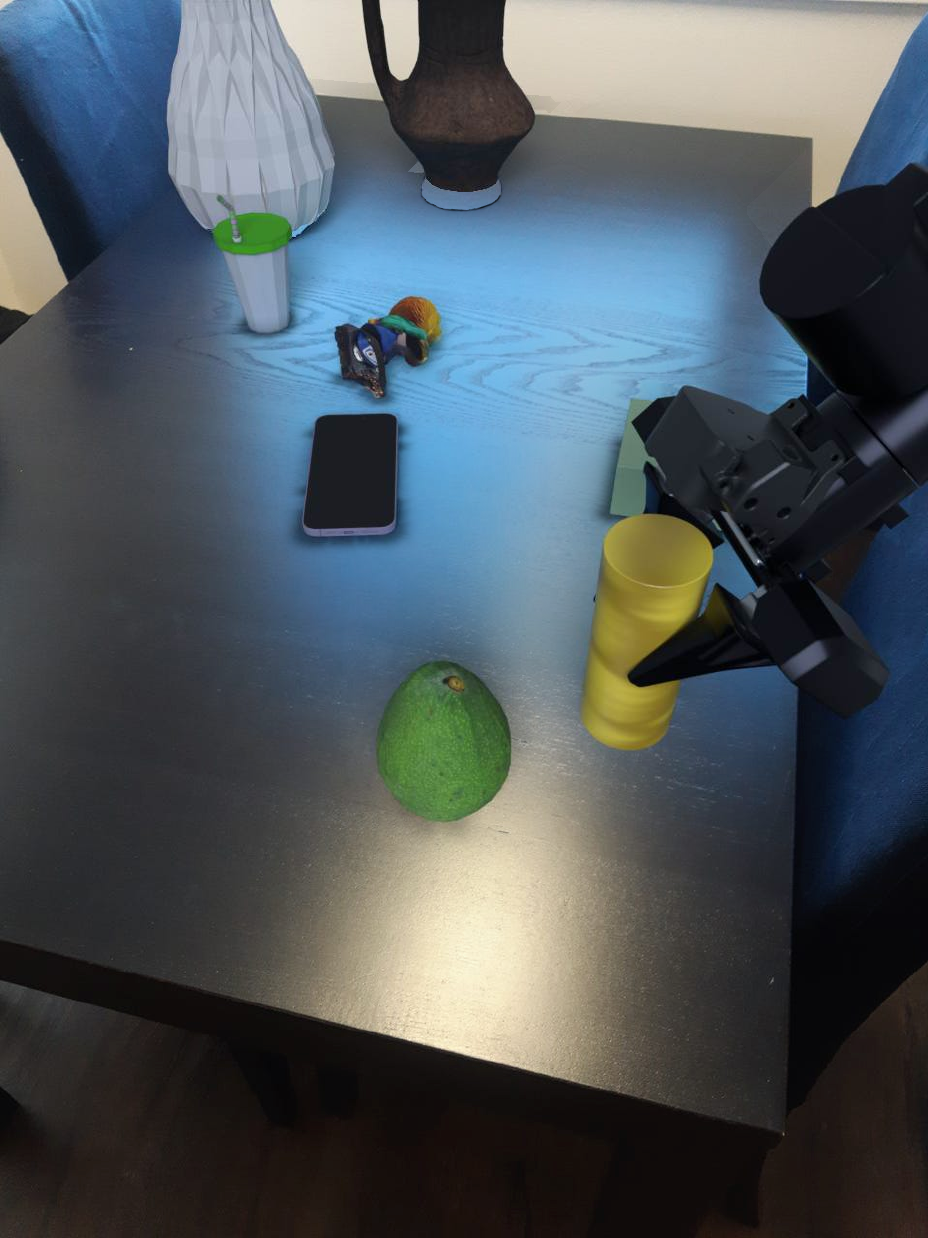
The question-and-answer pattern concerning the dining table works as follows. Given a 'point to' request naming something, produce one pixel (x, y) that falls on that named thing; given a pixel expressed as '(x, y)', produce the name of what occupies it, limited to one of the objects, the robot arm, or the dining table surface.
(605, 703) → the yellow tumbler
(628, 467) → the green block
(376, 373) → the figurine
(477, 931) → the dining table surface
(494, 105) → the jug
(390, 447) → the smartphone
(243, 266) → the cup
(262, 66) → the vase
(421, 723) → the fruit
